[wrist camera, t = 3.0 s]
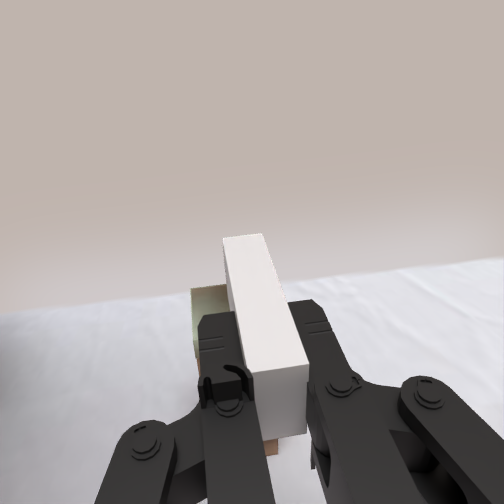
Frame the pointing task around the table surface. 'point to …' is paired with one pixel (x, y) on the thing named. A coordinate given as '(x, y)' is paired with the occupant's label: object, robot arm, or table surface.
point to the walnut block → (211, 303)
